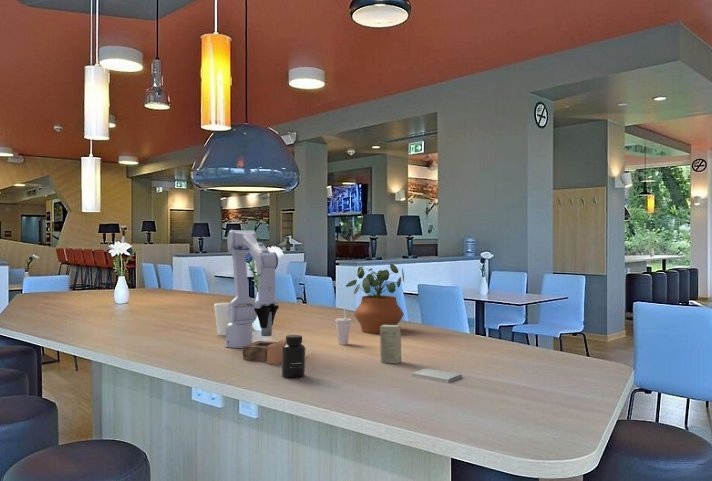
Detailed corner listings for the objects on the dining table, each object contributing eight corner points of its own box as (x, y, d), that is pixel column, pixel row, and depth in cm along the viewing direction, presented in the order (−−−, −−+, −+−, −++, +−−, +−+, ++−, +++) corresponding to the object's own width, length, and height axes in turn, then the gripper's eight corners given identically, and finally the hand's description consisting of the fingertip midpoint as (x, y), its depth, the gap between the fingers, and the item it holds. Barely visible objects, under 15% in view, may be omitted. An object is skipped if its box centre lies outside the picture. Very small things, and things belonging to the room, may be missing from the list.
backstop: (267, 364, 185) (267, 345, 185) (290, 353, 202) (291, 336, 202) (275, 364, 184) (275, 346, 184) (298, 354, 201) (298, 337, 201)
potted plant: (385, 336, 238) (385, 265, 238) (333, 330, 255) (333, 263, 255) (413, 330, 257) (413, 263, 257) (362, 324, 274) (363, 262, 274)
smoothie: (349, 345, 218) (349, 309, 218) (333, 345, 219) (333, 308, 219) (352, 343, 224) (353, 307, 224) (336, 342, 225) (337, 307, 225)
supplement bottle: (295, 380, 164) (295, 338, 164) (277, 377, 168) (277, 336, 168) (309, 375, 170) (309, 335, 170) (291, 372, 174) (291, 333, 174)
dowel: (259, 336, 195) (259, 312, 195) (264, 334, 198) (264, 311, 198) (268, 336, 194) (268, 313, 194) (273, 335, 197) (273, 311, 197)
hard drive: (462, 374, 169) (426, 367, 176) (448, 379, 162) (411, 372, 170) (462, 379, 169) (426, 372, 176) (448, 385, 162) (411, 377, 170)
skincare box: (401, 361, 190) (401, 325, 190) (398, 364, 186) (398, 326, 186) (383, 360, 192) (383, 323, 192) (379, 362, 188) (379, 325, 188)
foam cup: (241, 333, 244) (241, 303, 244) (225, 336, 236) (225, 305, 236) (225, 331, 249) (225, 302, 249) (209, 334, 241) (209, 304, 241)
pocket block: (242, 359, 192) (242, 346, 192) (258, 353, 202) (258, 340, 202) (272, 361, 188) (272, 348, 188) (286, 355, 199) (286, 342, 199)
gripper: (267, 289, 188) (267, 330, 188) (286, 286, 201) (286, 324, 201) (248, 289, 190) (248, 329, 190) (268, 285, 204) (268, 323, 204)
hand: (266, 327), depth 196 cm, fingers closed on dowel, 3 cm apart
